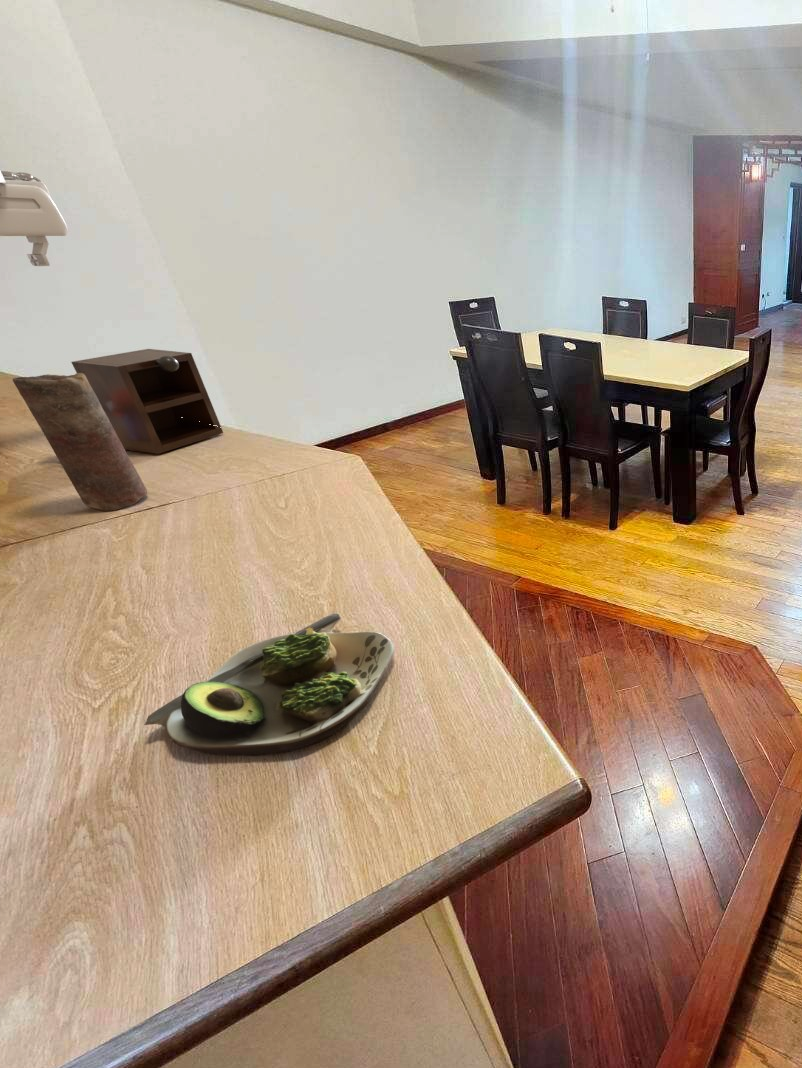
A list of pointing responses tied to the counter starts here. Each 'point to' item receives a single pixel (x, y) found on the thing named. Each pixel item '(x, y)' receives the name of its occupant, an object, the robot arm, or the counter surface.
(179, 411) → the shelf
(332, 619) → the salad plate
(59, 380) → the brown textured cylinder
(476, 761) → the counter surface
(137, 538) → the counter surface
